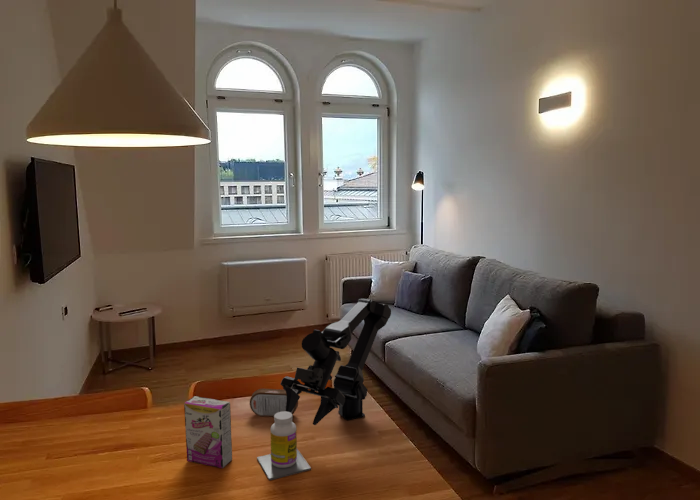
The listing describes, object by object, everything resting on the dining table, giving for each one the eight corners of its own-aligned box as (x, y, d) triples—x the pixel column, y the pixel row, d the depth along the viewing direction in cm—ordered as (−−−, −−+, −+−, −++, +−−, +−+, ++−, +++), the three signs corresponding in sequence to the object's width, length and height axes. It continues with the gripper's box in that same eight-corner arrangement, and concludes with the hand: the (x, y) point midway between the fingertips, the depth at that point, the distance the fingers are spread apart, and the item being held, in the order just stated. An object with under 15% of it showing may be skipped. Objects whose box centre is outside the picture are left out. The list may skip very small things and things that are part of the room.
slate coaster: (296, 449, 144) (296, 447, 144) (311, 469, 134) (311, 467, 134) (257, 458, 140) (257, 457, 139) (269, 480, 130) (269, 478, 130)
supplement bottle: (289, 471, 133) (288, 423, 131) (266, 466, 135) (265, 418, 133) (301, 458, 139) (300, 411, 137) (279, 453, 141) (278, 407, 139)
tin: (298, 414, 165) (298, 388, 164) (296, 419, 162) (296, 393, 161) (251, 412, 167) (250, 387, 166) (248, 417, 164) (248, 391, 163)
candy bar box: (185, 462, 138) (182, 402, 136) (197, 452, 143) (194, 395, 141) (222, 469, 135) (220, 408, 132) (233, 459, 139) (231, 400, 137)
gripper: (283, 348, 148) (258, 400, 141) (338, 361, 139) (315, 417, 131) (301, 366, 156) (278, 416, 149) (354, 379, 146) (333, 433, 139)
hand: (300, 420), depth 142 cm, fingers open, 9 cm apart
